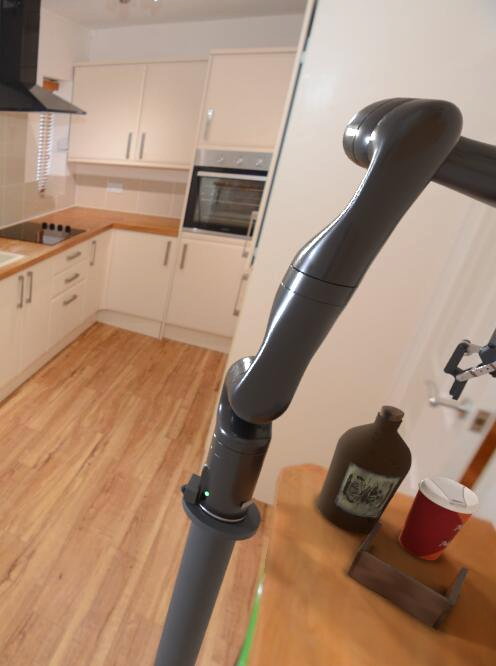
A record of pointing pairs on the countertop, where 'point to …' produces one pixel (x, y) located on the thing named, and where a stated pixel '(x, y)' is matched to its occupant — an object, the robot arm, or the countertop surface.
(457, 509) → the paper cup
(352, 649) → the countertop surface
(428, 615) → the holder
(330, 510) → the brown bottle
